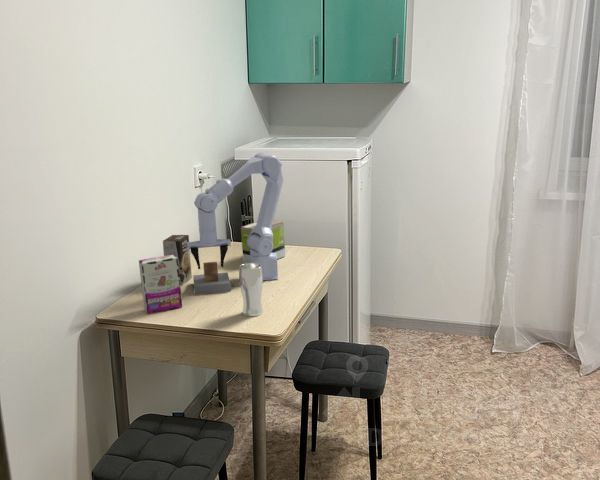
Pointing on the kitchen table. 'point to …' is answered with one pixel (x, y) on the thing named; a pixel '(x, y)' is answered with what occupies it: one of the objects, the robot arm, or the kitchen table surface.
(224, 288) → the slate base
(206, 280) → the walnut block
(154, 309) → the candy bar box
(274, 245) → the tea box
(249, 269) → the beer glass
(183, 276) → the coffee box
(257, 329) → the kitchen table surface
